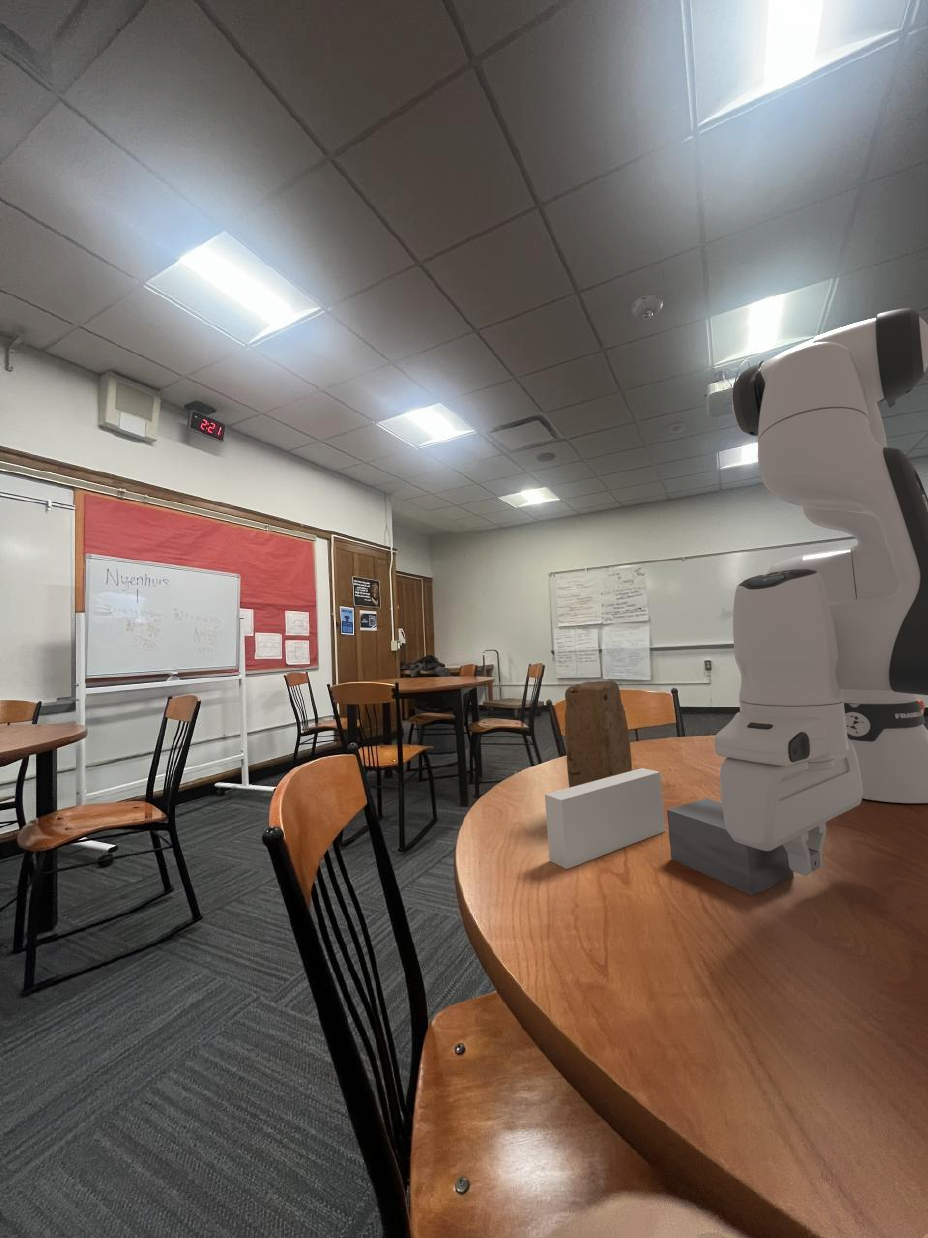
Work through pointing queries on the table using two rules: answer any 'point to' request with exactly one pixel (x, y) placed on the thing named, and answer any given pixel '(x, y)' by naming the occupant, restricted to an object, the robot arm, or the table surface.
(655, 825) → the cream board
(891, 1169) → the table surface
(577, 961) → the table surface
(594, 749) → the block
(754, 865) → the charcoal block
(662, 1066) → the table surface
